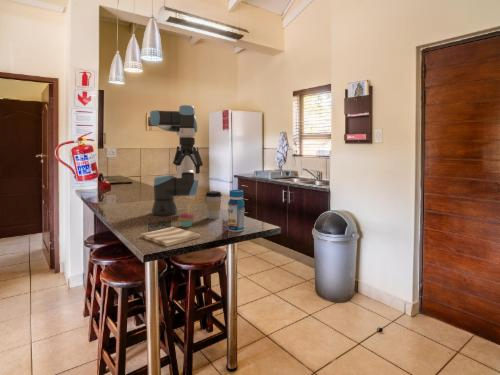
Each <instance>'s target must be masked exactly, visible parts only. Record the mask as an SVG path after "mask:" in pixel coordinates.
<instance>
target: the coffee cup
mask: <svg viewBox="0 0 500 375" xmlns="http://www.w3.org/2000/svg"><path fill="white" fill-rule="evenodd" d="M222 196H223V195H222V192H221V191H217V190H215V191H213V190H212V191H207V192H206V194H205V197H206V206H207V208H206V209H207V212H208V213H207V214H208V219H211V220H216V219H219V218H220V213H221V212H220V211H221V204H222Z"/></svg>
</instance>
